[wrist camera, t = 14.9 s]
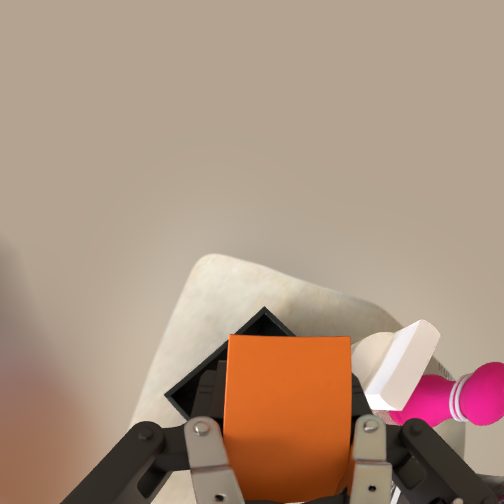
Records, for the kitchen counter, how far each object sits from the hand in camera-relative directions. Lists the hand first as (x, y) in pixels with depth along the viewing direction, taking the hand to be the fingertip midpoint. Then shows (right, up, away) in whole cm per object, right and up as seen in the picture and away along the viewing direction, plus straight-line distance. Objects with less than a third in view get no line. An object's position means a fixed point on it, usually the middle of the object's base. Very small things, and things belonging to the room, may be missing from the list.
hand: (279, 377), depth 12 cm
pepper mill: (+19, -14, +16) cm, 29 cm away
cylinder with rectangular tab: (+13, -10, +19) cm, 25 cm away
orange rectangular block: (0, -5, +4) cm, 6 cm away
